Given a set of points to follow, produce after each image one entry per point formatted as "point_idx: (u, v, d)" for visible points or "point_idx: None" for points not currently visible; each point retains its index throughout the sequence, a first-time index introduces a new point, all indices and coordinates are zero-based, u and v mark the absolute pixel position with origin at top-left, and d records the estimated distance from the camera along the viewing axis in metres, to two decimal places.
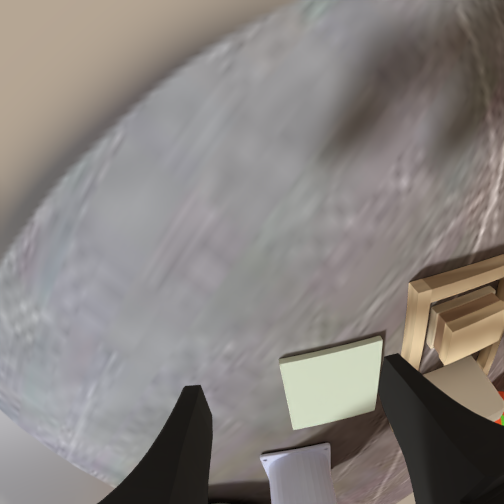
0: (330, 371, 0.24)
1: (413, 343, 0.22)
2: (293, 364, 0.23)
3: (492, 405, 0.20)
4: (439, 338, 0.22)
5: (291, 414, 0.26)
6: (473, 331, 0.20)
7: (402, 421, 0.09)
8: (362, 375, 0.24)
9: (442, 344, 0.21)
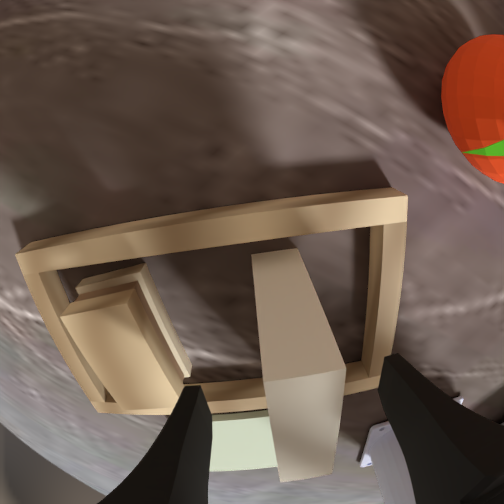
0: (212, 451, 0.21)
1: (161, 413, 0.17)
2: None
3: None
4: None
5: None
6: (115, 380, 0.14)
7: (402, 421, 0.09)
8: (224, 432, 0.20)
9: None
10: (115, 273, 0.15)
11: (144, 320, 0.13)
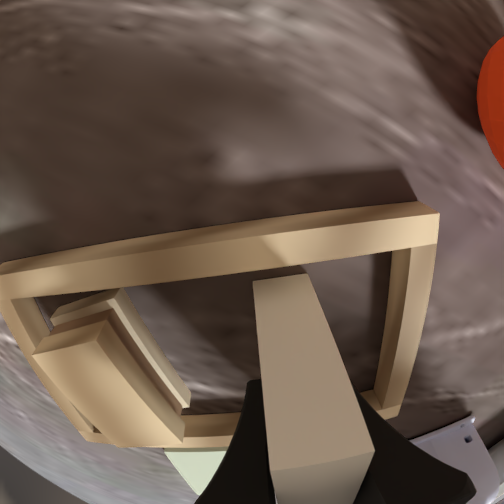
0: (210, 478, 0.19)
1: (154, 446, 0.15)
2: (197, 490, 0.20)
3: None
4: None
5: None
6: (102, 419, 0.11)
7: None
8: None
9: None
10: (89, 300, 0.12)
11: (122, 355, 0.11)
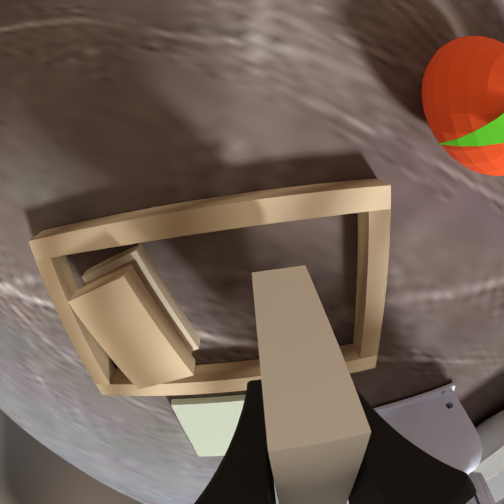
0: (211, 434, 0.23)
1: (163, 394, 0.19)
2: (199, 451, 0.24)
3: None
4: None
5: None
6: (126, 357, 0.15)
7: None
8: (223, 414, 0.21)
9: None
10: (115, 257, 0.16)
11: (143, 292, 0.14)
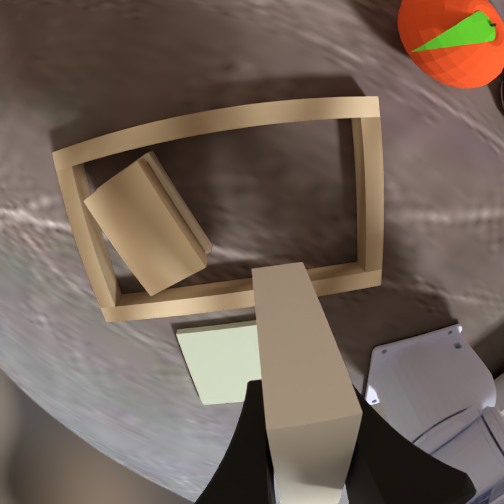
0: (216, 373, 0.24)
1: (169, 314, 0.20)
2: (203, 397, 0.25)
3: None
4: None
5: None
6: (138, 255, 0.16)
7: None
8: (230, 345, 0.22)
9: None
10: None
11: (155, 181, 0.15)
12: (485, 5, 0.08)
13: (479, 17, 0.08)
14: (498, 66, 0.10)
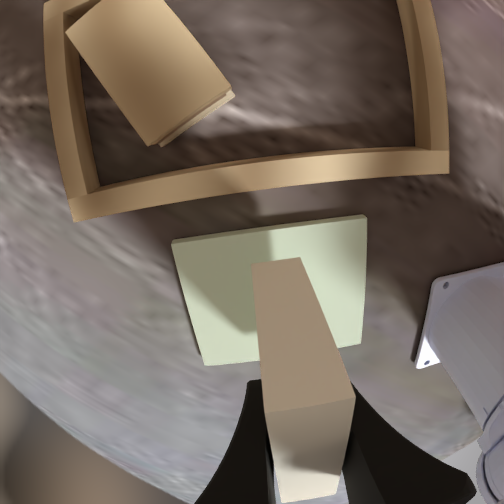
0: (227, 312, 0.17)
1: (163, 202, 0.14)
2: (206, 353, 0.18)
3: None
4: (195, 114, 0.12)
5: None
6: (131, 83, 0.10)
7: None
8: (248, 262, 0.16)
9: (197, 112, 0.11)
10: None
11: None
12: None
13: None
14: None
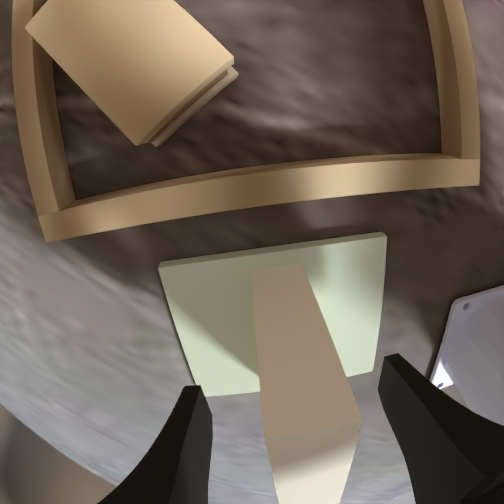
0: (224, 343, 0.15)
1: (145, 220, 0.11)
2: (201, 384, 0.16)
3: None
4: (192, 100, 0.09)
5: None
6: (106, 70, 0.07)
7: (402, 421, 0.09)
8: (248, 289, 0.14)
9: (194, 96, 0.09)
10: None
11: None
12: None
13: None
14: None
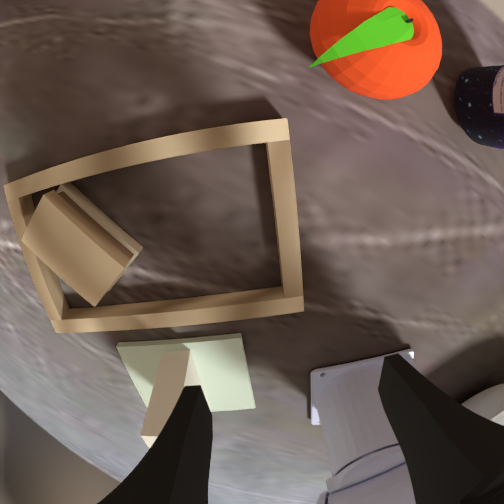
0: None
1: (105, 329, 0.20)
2: None
3: None
4: None
5: (223, 409, 0.25)
6: (71, 273, 0.17)
7: (402, 421, 0.09)
8: None
9: None
10: None
11: (64, 206, 0.16)
12: None
13: (390, 14, 0.09)
14: (422, 69, 0.10)
